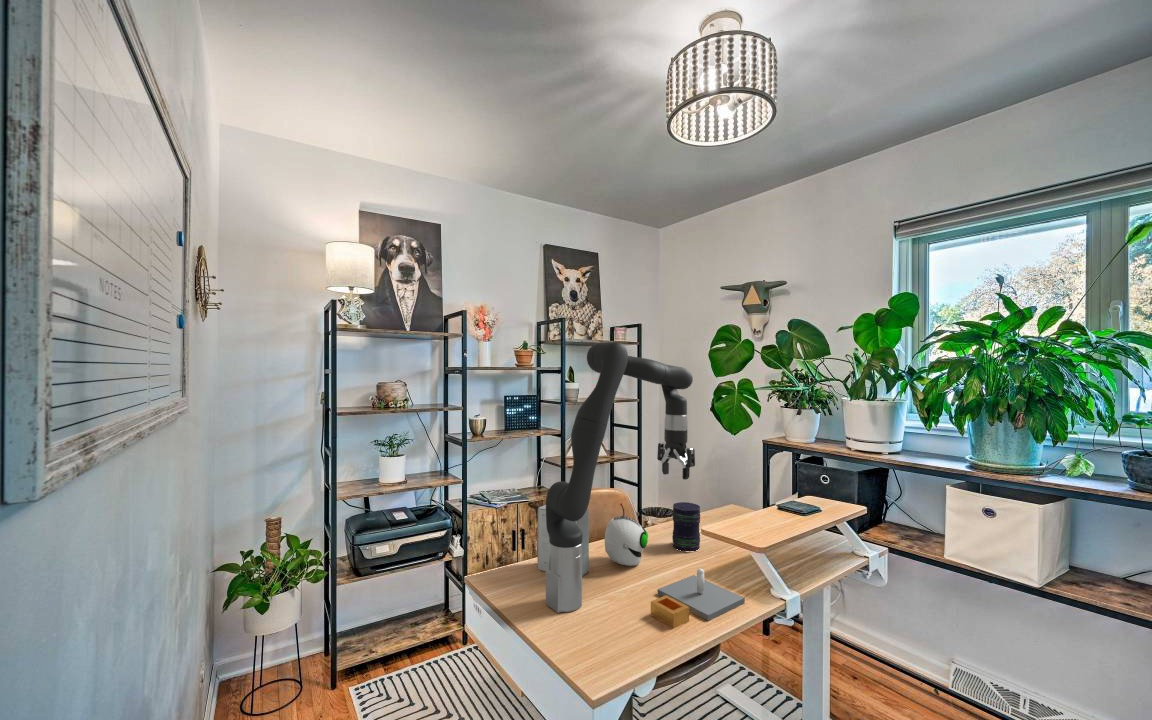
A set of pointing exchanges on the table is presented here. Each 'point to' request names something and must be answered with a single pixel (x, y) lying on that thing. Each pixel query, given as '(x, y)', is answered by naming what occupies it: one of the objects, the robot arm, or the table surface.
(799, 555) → the table surface
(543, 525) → the hard drive box
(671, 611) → the open wooden box
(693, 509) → the storage jar
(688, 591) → the plate
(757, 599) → the table surface
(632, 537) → the robot head
